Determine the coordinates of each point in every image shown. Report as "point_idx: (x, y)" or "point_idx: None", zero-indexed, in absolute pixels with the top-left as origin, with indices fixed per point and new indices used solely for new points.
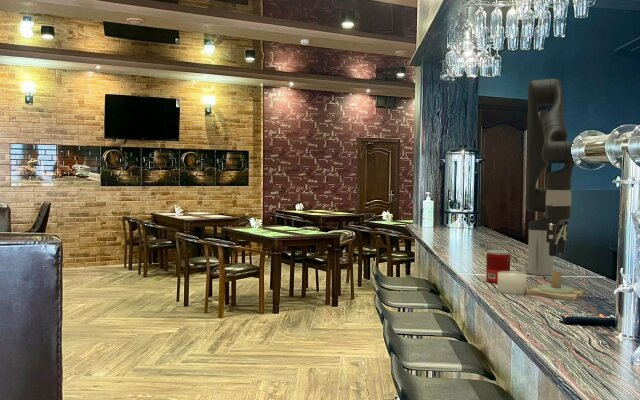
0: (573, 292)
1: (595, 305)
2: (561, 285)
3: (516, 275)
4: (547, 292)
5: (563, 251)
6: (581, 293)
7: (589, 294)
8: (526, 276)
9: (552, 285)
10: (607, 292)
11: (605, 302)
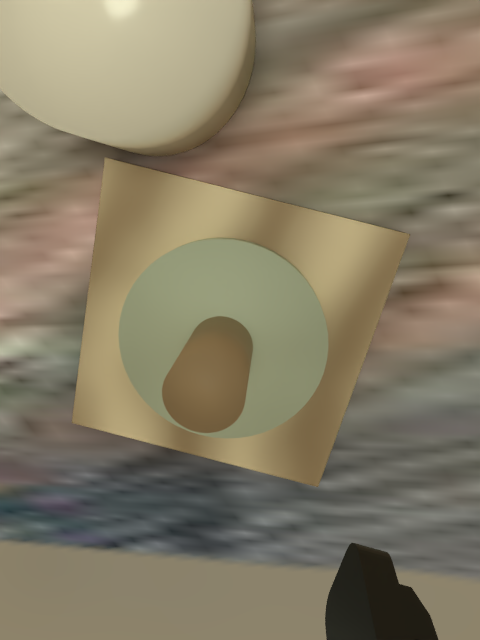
0: None
1: (34, 498)
2: (315, 376)
3: None
4: None
5: (329, 619)
6: (243, 462)
7: (293, 491)
8: (96, 139)
9: (194, 330)
10: None
11: (126, 539)
